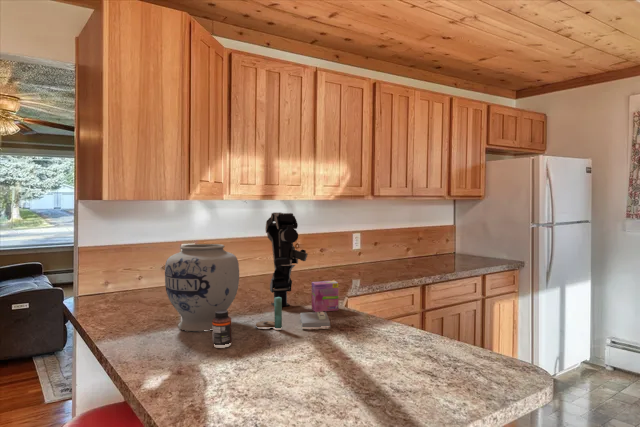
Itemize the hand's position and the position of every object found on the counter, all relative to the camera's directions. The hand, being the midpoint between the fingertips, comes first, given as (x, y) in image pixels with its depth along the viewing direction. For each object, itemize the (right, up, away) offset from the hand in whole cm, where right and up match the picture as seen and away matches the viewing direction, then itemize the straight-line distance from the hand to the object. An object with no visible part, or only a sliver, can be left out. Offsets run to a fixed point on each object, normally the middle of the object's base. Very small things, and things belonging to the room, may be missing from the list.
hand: (287, 282), depth 174 cm
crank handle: (-6, -14, -18) cm, 23 cm away
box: (+15, -13, +7) cm, 21 cm away
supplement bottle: (-18, -15, -36) cm, 43 cm away
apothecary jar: (-30, -14, -13) cm, 36 cm away
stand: (+11, -13, -13) cm, 22 cm away
